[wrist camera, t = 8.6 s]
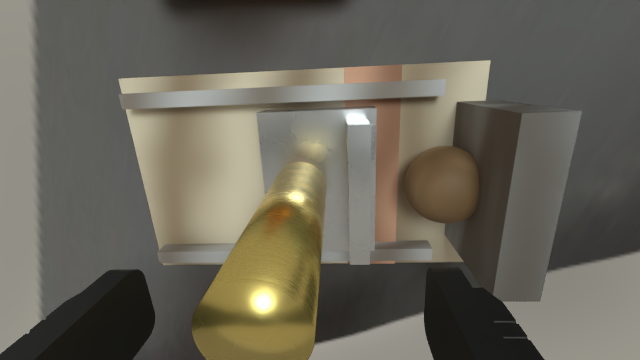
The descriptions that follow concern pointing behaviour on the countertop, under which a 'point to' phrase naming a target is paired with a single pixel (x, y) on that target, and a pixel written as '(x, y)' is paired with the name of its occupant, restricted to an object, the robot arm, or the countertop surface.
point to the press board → (391, 164)
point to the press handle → (293, 233)
